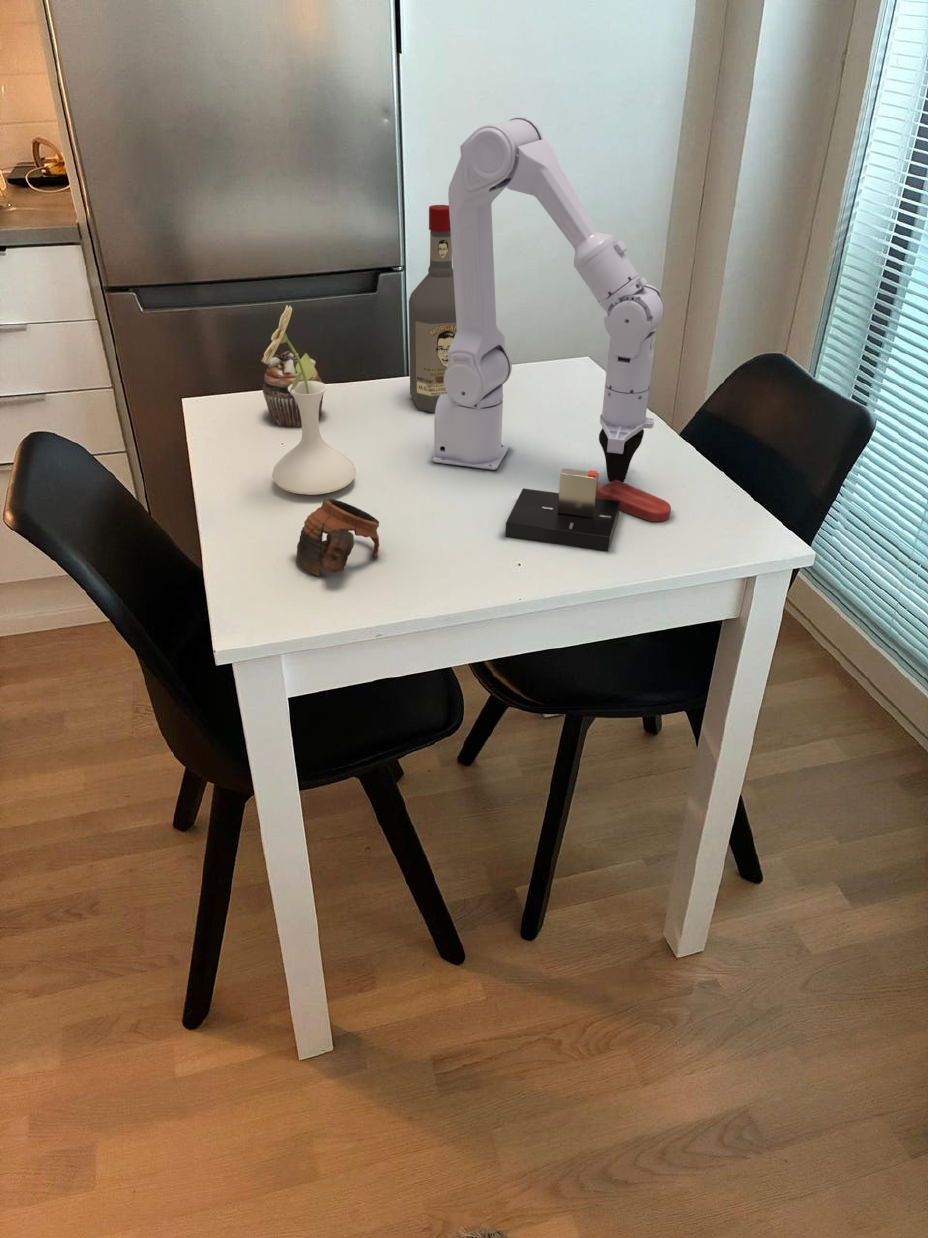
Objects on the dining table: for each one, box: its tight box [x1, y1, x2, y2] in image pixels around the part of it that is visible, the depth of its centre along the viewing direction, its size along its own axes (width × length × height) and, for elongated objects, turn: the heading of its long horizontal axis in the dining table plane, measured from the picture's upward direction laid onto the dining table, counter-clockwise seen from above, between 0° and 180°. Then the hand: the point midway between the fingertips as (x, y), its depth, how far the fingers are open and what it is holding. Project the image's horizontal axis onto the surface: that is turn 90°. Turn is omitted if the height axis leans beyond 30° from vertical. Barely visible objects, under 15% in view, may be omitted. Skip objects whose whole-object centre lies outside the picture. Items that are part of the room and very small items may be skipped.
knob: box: [557, 468, 600, 518], centre depth 119 cm, size 5×2×6 cm, turn 75°
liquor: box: [408, 204, 457, 414], centre depth 148 cm, size 9×9×30 cm
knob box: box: [504, 487, 621, 552], centre depth 121 cm, size 13×10×2 cm
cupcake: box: [261, 349, 324, 428], centre depth 147 cm, size 10×10×10 cm
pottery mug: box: [295, 498, 380, 577], centre depth 112 cm, size 12×10×8 cm
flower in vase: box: [261, 304, 357, 496], centre depth 123 cm, size 13×11×25 cm
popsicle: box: [597, 480, 672, 523], centre depth 127 cm, size 4×2×15 cm
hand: (616, 481), depth 130 cm, fingers closed
